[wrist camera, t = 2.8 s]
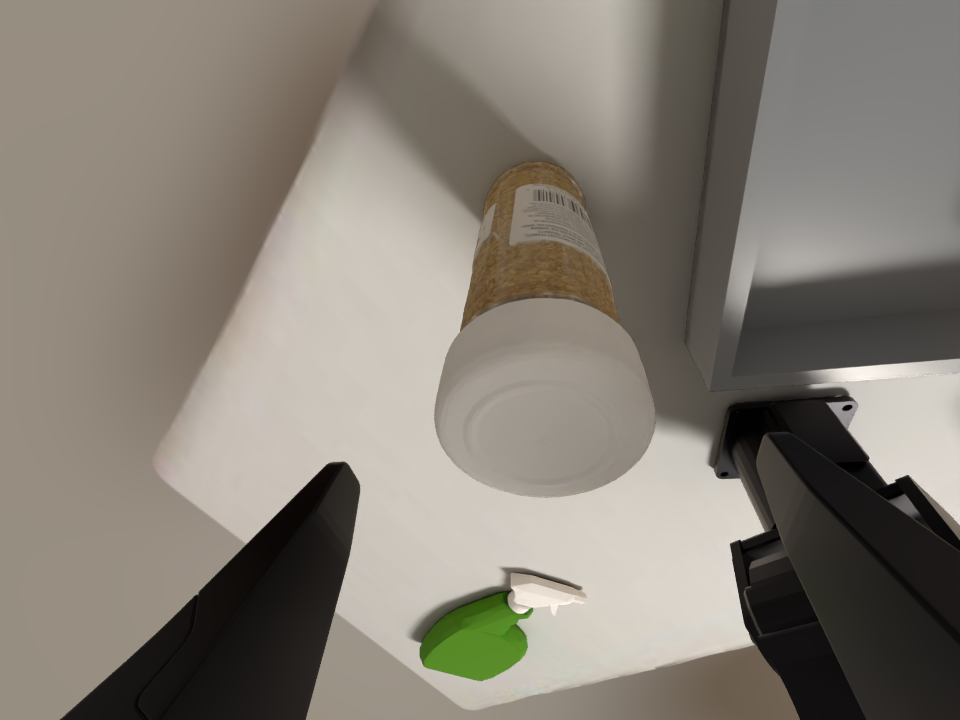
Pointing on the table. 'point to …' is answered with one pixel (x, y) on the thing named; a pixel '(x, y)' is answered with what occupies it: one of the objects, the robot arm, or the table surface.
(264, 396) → the table surface
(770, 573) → the robot arm
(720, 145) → the tote
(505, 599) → the spray bottle
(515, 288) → the sprinkles bottle
